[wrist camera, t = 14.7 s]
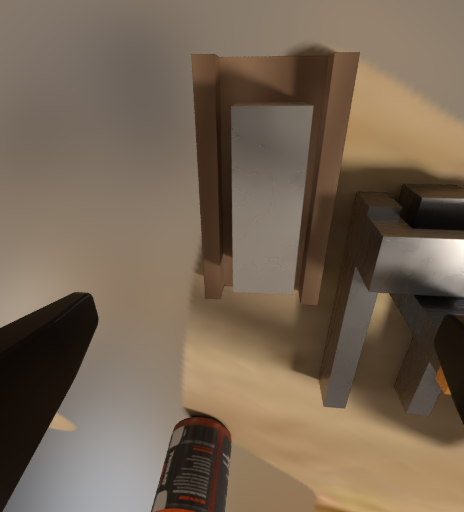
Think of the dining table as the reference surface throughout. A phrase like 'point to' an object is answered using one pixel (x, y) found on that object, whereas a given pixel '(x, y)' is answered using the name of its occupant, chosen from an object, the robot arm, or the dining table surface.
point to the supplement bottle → (195, 468)
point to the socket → (387, 281)
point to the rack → (319, 156)
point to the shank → (268, 192)
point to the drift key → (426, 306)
